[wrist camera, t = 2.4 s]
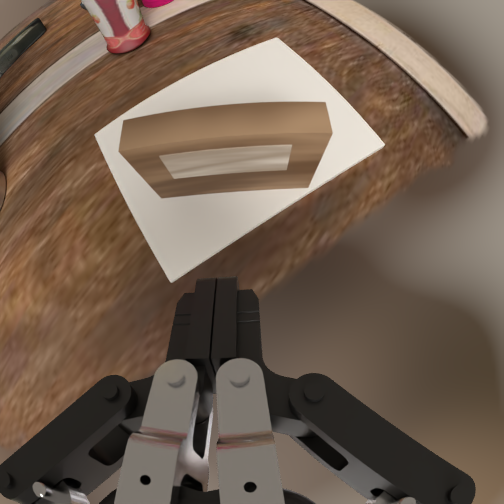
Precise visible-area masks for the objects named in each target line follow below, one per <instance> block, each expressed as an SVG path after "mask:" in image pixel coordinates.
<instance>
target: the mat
mask: <svg viewBox="0 0 504 504" xmlns="http://www.w3.org/2000/svg"><path fill="white" fill-rule="evenodd" d="M257 102H326V106H327V110H328V114H329V118H330V123H331V127H332V132H333V134H332V136H331V138H330V141H329V143H328V145H327V147H326V150H325V152H324V154H323V156H322V159H321V161H320V163H319V165H318V167H317V170H316V172H315V174H314V176H313V178H312V181H311V183H310V185H309V187H308V188H294V189H273V190H255V191H240V192H226V193H214V194H202V195H191V196H181V197H172V198H162V199H161V197H160V196H159V195H158V194H157V193H156V192H155V191H154V190H153V189H152V188H151V187H150V186H149V185H148V183H147V182H146V181H145V180H144V179H143V178H142V177H141V176H140V175H139V174H138V173H137V172H136V170H135V169H134V168H133V167H132V166H131V165H130V164H129V163H128V162H127V161H126V159H125V158H124V157H123V156H122V155H121V154H120V153H119V152H118V151H119V144H120V137H121V131H122V125H123V120H127V119H132V118H136V117H141V116H147V115H152V114H158V113H164V112H170V111H176V110H183V109H190V108H198V107H207V106H216V105H227V104H240V103H257ZM95 137H96V139H97V142H98V144H99V146H100V149H101V151H102V153H103V155H104V157H105V160H106V162H107V164H108V166H109V168H110V170H111V172H112V174H113V177H114V179H115V181H116V183H117V185H118V187H119V189H120V191H121V193H122V195H123V197H124V199H125V201H126V203H127V205H128V207H129V209H130V211H131V213H132V214H133V216H134V218H135V220H136V222H137V224H138V226H139V228H140V230H141V231H142V233H143V235H144V237H145V239H146V241H147V242H148V244H149V246H150V248H151V250H152V251H153V253H154V255H155V257H156V258H157V260H158V262H159V264H160V265H161V267H162V269H163V270H164V272H165V274H166V276H167V277H168V279H169V281H170V282H171V283H173V282H174V281H176V280H177V279H179V278H180V277H182V276H183V275H185V274H186V273H188V272H189V271H191V270H192V269H194V268H195V267H197V266H198V265H200V264H201V263H203V262H204V261H206V260H207V259H209V258H210V257H212V256H213V255H215V254H216V253H218V252H219V251H221V250H222V249H224V248H225V247H227V246H228V245H230V244H231V243H233V242H235V241H236V240H238V239H239V238H241V237H242V236H244V235H245V234H247V233H248V232H250V231H251V230H253V229H254V228H256V227H258V226H259V225H261V224H262V223H264V222H265V221H267V220H268V219H270V218H271V217H273V216H275V215H276V214H278V213H279V212H281V211H282V210H284V209H286V208H287V207H289V206H290V205H292V204H293V203H295V202H296V201H298V200H300V199H301V198H303V197H304V196H306V195H307V194H309V193H311V192H312V191H314V190H315V189H317V188H319V187H320V186H322V185H323V184H325V183H326V182H328V181H330V180H331V179H333V178H334V177H336V176H338V175H339V174H341V173H342V172H344V171H346V170H347V169H349V168H350V167H352V166H354V165H355V164H357V163H358V162H360V161H362V160H363V159H365V158H367V157H368V156H370V155H371V154H373V153H375V152H376V151H378V150H380V149H381V148H383V147H384V146H385V144H384V143H383V142H382V140H381V139H380V138H379V137H378V136H377V134H376V133H375V132H374V131H373V130H372V129H371V127H370V126H369V125H368V124H367V123H366V122H365V121H364V119H363V118H362V117H361V116H360V115H359V114H358V113H357V112H356V111H355V110H354V108H353V107H352V106H351V105H350V104H349V103H348V102H347V101H346V100H345V99H344V98H343V97H342V96H341V95H340V94H339V93H338V92H337V91H336V90H335V89H334V88H333V87H332V86H331V85H330V84H329V83H328V82H327V81H326V80H325V79H324V78H323V77H322V76H321V75H320V74H319V73H318V72H317V71H315V70H314V69H313V68H312V67H311V66H310V65H309V64H308V63H307V62H306V61H304V60H303V59H302V58H301V57H300V56H299V55H298V54H296V53H295V52H294V51H293V50H292V49H290V48H289V47H288V46H287V45H286V44H284V43H283V42H282V41H281V40H279V39H278V38H274V39H271V40H268V41H266V42H263V43H260V44H258V45H255V46H252V47H250V48H247V49H245V50H242V51H240V52H238V53H235V54H233V55H231V56H228V57H226V58H224V59H221V60H219V61H217V62H215V63H213V64H211V65H208V66H206V67H204V68H202V69H200V70H198V71H196V72H194V73H192V74H190V75H188V76H186V77H185V78H183V79H181V80H179V81H177V82H175V83H173V84H172V85H170V86H168V87H166V88H164V89H163V90H161V91H159V92H158V93H156V94H154V95H153V96H151V97H149V98H148V99H146V100H144V101H143V102H141V103H139V104H138V105H136V106H135V107H133V108H132V109H130V110H129V111H127V112H126V113H124V114H123V115H121V116H120V117H118V118H117V119H115V120H114V121H112V122H111V123H110V124H108V125H107V126H105V127H104V128H103V129H101V130H100V131H99V132H97V133H96V134H95Z"/></svg>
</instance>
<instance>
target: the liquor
mask: <svg viewBox="0 0 504 504" xmlns="http://www.w3.org/2000/svg"><path fill="white" fill-rule="evenodd" d="M81 1H82V2H83V4H84V5H85V7H86V8H87V10H88V12H89V13H90V15H91V17H92V18H93V20H94V21H95V23H96V25H97V26H98V28H99V30H100V31H101V33H102V35H103V37H104V38H105V40H106V42H107V50H108V51H109V52H111V53H127V52H130V51H133V50H135V49H136V48H138V47H139V46H140V45H142V43H143V42H144V41H145V40H146V38H147V37H148V36H149V34H150V27H149V26H147V25H145V23H144V20H143V17H142V14H141V11H140V8H139V5H138V2H137V0H81Z"/></svg>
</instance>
